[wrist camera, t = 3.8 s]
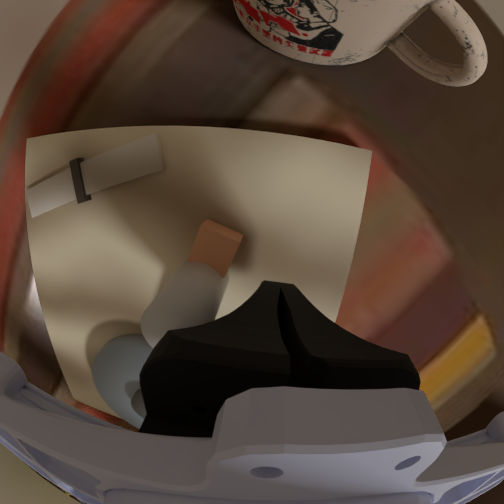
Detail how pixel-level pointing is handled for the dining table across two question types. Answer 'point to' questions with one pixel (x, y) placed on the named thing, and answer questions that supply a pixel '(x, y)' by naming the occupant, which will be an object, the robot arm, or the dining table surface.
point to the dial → (167, 319)
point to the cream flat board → (180, 224)
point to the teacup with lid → (362, 33)
